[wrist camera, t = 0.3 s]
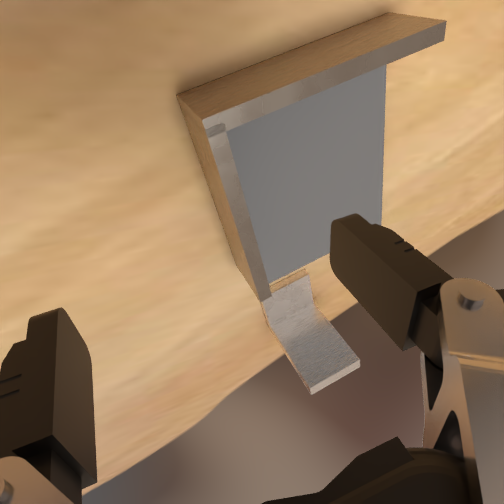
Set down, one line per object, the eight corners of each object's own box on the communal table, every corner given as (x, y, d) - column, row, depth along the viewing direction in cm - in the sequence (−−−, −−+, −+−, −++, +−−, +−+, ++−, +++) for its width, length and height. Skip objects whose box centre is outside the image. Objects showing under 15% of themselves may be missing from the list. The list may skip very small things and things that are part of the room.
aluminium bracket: (257, 292, 41) (303, 363, 34) (304, 269, 42) (358, 332, 35) (268, 326, 45) (311, 394, 38) (310, 304, 46) (359, 366, 39)
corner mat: (197, 105, 26) (200, 108, 26) (382, 32, 29) (387, 33, 29) (255, 285, 40) (257, 289, 40) (377, 224, 43) (381, 226, 42)
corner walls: (176, 95, 25) (201, 119, 21) (389, 12, 28) (446, 20, 24) (236, 265, 37) (260, 302, 33) (383, 193, 40) (421, 219, 36)
